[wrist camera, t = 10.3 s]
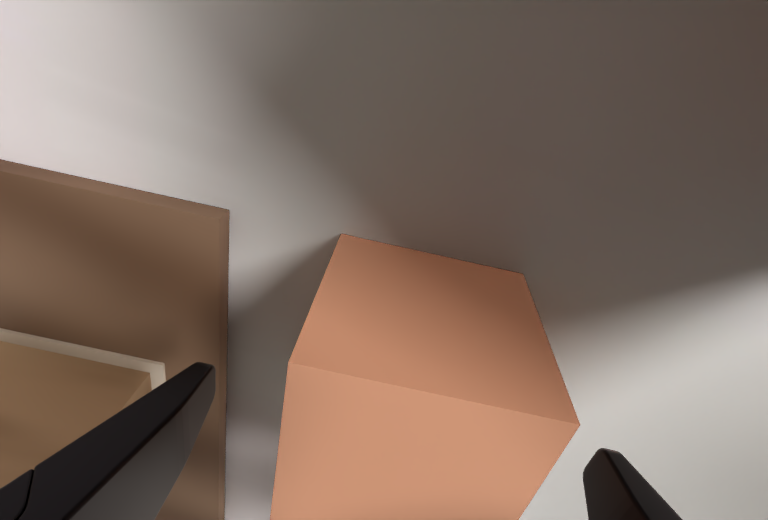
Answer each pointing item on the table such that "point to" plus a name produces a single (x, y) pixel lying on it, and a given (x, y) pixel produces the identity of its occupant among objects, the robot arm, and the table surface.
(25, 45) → the table surface
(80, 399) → the oak cube
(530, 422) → the terracotta cube
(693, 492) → the table surface
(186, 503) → the brown flat panel
